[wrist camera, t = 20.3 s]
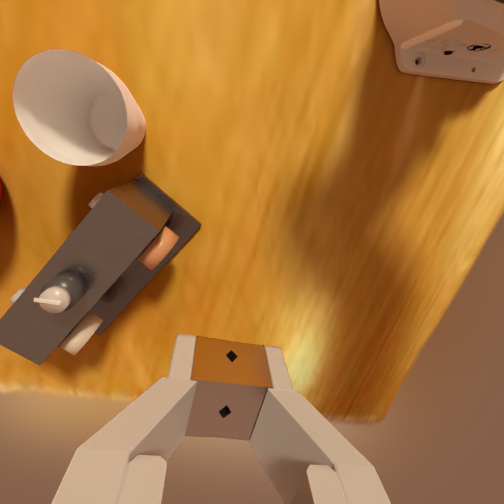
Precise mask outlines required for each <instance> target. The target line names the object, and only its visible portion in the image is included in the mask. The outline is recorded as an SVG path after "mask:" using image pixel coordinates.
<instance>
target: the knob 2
mask: <svg viewBox="0 0 504 504" xmlns="http://www.w3.org/2000/svg"><path fill="white" fill-rule="evenodd" d="M103 195H104V194H103V193H102V192H100V193H98V194H97V195H96V196H95V197H94V198H93V199H92V200H91V202H90V203H89V205H88V206H89V207H91V208H93V207H94V206H95V205H96V203H97V202H98V201H99V200H100V198H101V197H102V196H103ZM178 239H179V236H177V235H176V234H175V233H174V232H172V231H171V230H170V229H169V228H168V227H166V226H164V227H163V228H162V229H161V230H160V232H159V233H158V234H157V235H156V236H155V237H154V238H153V239H152V241H151V242H150V243H149V244H148V245H147V246H146V247H145V249H144V250H143V251H142V252H141V254H140V255H139V256H138V257H137V260H138V261H140V262H141V263H142V264H144V265H145V266H146V267H148V268H149V269H151V270H152V269H154V268H155V267H156V266H157V265H158V264H159V263H160V262H161V261H162V260H163V258H164V257H165V256H166V255H167V254H168V253H169V251H170V250H171V249H172V248H173V246H174V245H175V244H176V242H177V241H178Z"/></svg>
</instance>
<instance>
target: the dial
mask: <svg viewBox="0 0 504 504" xmlns="http://www.w3.org/2000/svg"><path fill="white" fill-rule="evenodd" d="M86 291H87V283H86V281H85V279H84V278H83V277H82V276H81V275H79V274H77V273H75V272H71V271H65V272H61V273H59V274H58V275H57V276H55V277H54V278H53V279H52V280H50V281H49V282H48V283H47V284H45V285H44V286H43V287H42V289H41V291H40V296H39V298H34V302H39V304H40V306H41V307H42V308H43V309H44V310H45V311H47V312H50V313H60V312H62V311H67V310H70V309H71V308H73V307H74V306H75V304H76V303H77V302H78V301H79V300H80V299H81V298H82V297H83V296H84V294H85V293H86Z"/></svg>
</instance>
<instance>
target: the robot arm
mask: <svg viewBox="0 0 504 504" xmlns="http://www.w3.org/2000/svg"><path fill="white" fill-rule="evenodd" d="M379 6H380V11H381V16H382V19H383V22H384V25H385V27H386V29H387V31H388V33H389V35H390V37H391V39H392V41H393V44H394V48H395V57H396V63H397V67H398V69H399V70H400V71H401V72H402V73H407V74H415V75H423V76H431V77H439V78H447V79H455V80H463V81H471V82H479V83H488V84H495V83H498V82H501V81H503V80H504V0H379ZM416 59H417V60H418V64H417V65H416V63H415V60H416ZM185 436H199V437H219V438H229V439H240V440H249V443H250V444H251V446H252V448H253V450H254V451H255V453H256V455H257V457H258V458H259V460H260V462H261V463H262V465H263V467H264V469H265V470H266V472H267V474H268V476H269V477H270V479H271V481H272V482H273V484H274V486H275V487H276V489H277V491H278V493H279V495H280V496H281V498H282V500H283V501H284V503H285V504H391V503H390V501H389V499H388V496H387V494H386V492H385V490H384V488H383V486H382V483H381V481H380V479H379V477H378V475H377V473H376V471H375V468H374V467H373V465H371V464H370V462H369V461H368V460H367V459H366V458H365V457H364V456H362V455H361V453H360V452H359V451H358V450H357V449H356V448H354V447H353V446H352V444H350V442H348V440H347V439H345V437H344V436H342V434H341V433H340V432H339V431H338V430H336V428H335V427H334V426H333V425H332V424H331V423H330V422H329V421H328V420H327V419H326V418H325V417H324V416H323V415H322V414H321V413H320V412H319V411H318V410H317V409H316V408H315V407H314V406H313V405H312V404H311V403H310V402H309V401H308V400H307V399H306V398H305V397H304V396H303V395H302V394H301V393H300V392H297V391H294V390H293V387H292V384H291V380H290V377H289V373H288V370H287V367H286V363H285V360H284V356H283V353H282V350H281V348H280V347H279V346H270V345H256V344H249V343H241V342H233V341H227V340H221V339H215V338H208V337H202V336H195V335H188V334H181V333H178V334H177V337H176V341H175V346H174V351H173V355H172V360H171V364H170V369H169V373H168V378H165V377H161V378H160V379H159V380H158V381H157V382H155V383H154V384H153V385H152V386H151V387H149V388H148V389H147V390H146V391H145V392H144V393H142V394H141V395H140V396H139V397H138V398H136V399H135V400H134V401H133V402H132V403H131V404H129V405H128V406H127V407H126V408H125V409H123V410H122V411H121V412H120V413H119V414H118V415H116V416H115V417H114V418H113V419H112V420H110V421H109V422H108V423H107V424H106V425H105V426H103V427H102V428H101V429H100V430H99V431H97V432H96V433H95V434H94V435H93V436H91V437H90V438H89V439H88V440H87V441H86V442H85V443H84V444H82V445H81V446H80V447H78V448H77V450H76V452H75V454H74V456H73V458H72V461H71V463H70V465H69V467H68V469H67V471H66V474H65V476H64V478H63V480H62V482H61V484H60V486H59V488H58V491H57V493H56V495H55V497H54V499H53V501H52V504H161V501H162V494H163V488H164V481H165V475H166V469H167V461H168V460H169V459H170V457H171V456H172V454H173V453H174V452H175V450H176V449H177V448H178V446H179V445H180V443H181V442H182V441H183V439H184V437H185Z"/></svg>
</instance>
